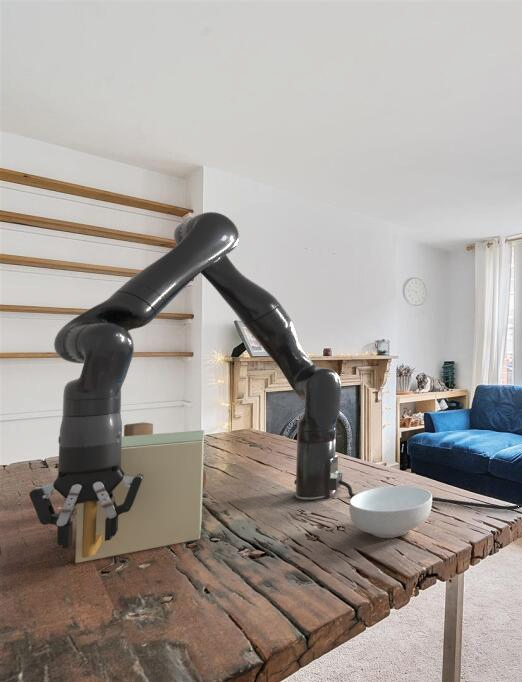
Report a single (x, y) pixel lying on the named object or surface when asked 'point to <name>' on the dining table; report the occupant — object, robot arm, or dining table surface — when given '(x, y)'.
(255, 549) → the dining table surface
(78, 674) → the dining table surface
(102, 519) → the cupboard door
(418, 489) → the cereal bowl
